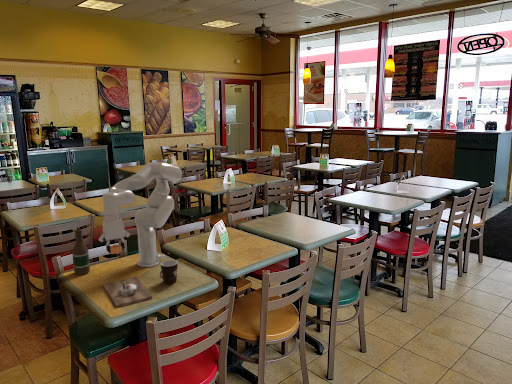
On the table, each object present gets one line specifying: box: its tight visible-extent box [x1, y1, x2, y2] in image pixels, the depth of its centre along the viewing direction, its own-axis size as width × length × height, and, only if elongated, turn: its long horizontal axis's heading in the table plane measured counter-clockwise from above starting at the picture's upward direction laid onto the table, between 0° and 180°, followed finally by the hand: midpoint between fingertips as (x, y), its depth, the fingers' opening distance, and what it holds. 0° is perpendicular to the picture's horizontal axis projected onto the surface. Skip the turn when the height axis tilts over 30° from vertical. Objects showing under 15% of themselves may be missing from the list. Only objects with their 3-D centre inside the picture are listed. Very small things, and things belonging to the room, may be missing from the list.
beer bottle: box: [72, 228, 91, 276], centre depth 208 cm, size 8×8×24 cm
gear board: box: [103, 276, 153, 308], centre depth 187 cm, size 16×26×6 cm, turn 32°
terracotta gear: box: [110, 243, 124, 255], centre depth 200 cm, size 6×6×3 cm
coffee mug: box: [159, 259, 179, 285], centre depth 197 cm, size 12×9×10 cm
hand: (115, 250), depth 201 cm, fingers closed on terracotta gear, 6 cm apart
